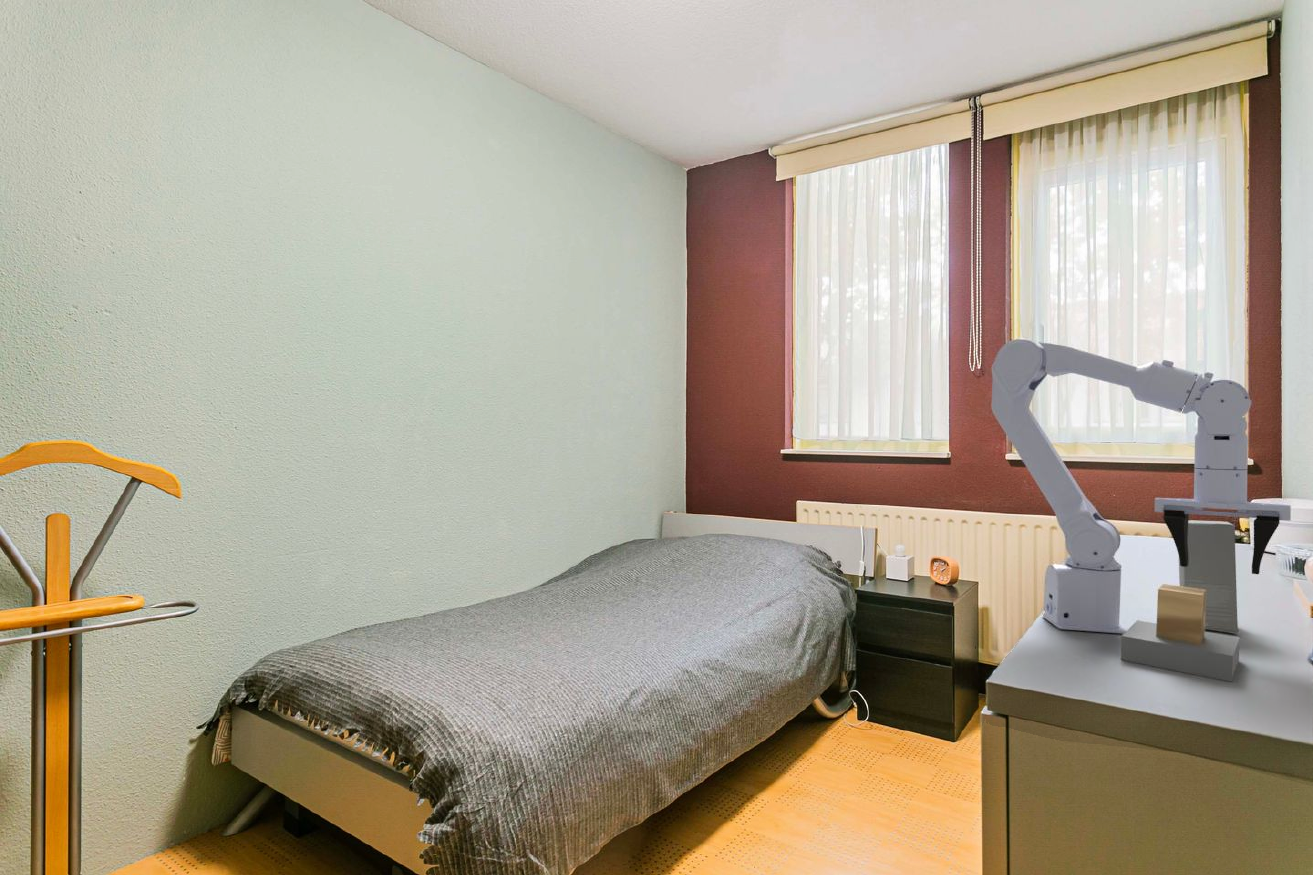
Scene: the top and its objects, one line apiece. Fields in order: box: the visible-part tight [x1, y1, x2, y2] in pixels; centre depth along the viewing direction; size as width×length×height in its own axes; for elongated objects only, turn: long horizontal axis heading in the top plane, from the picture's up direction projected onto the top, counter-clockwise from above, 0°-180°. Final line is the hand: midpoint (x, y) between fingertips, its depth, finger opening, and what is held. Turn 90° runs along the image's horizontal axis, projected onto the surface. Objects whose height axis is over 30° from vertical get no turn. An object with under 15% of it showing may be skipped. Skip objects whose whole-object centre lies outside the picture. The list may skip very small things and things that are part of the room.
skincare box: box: [1178, 519, 1239, 635], centre depth 111 cm, size 8×7×16 cm
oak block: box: [1156, 583, 1206, 644], centre depth 92 cm, size 4×4×6 cm
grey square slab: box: [1120, 619, 1241, 682], centre depth 93 cm, size 11×11×3 cm
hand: (1219, 569), depth 100 cm, fingers open, 7 cm apart
